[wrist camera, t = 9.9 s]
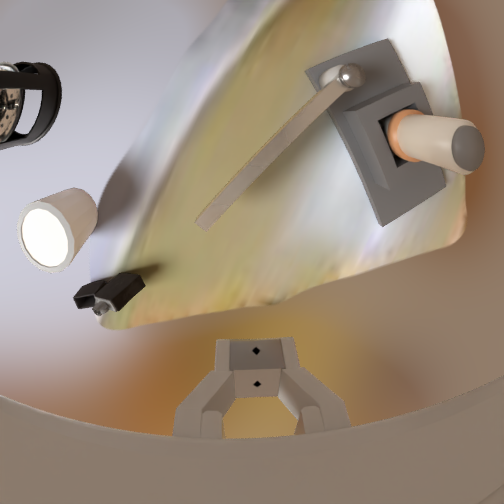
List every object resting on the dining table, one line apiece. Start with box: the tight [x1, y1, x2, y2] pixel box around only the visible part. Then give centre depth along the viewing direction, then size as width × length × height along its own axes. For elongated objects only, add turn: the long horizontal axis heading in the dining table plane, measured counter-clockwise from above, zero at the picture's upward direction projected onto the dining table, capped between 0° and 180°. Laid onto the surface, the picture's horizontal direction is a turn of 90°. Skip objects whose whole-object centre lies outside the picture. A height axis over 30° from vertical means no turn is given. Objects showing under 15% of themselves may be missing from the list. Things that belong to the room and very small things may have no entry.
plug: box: [378, 109, 485, 175], centre depth 19 cm, size 5×5×12 cm
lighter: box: [73, 273, 146, 316], centre depth 29 cm, size 9×2×6 cm
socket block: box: [305, 39, 446, 227], centre depth 24 cm, size 18×10×4 cm, turn 31°
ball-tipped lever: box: [195, 63, 366, 232], centre depth 21 cm, size 18×2×2 cm, turn 137°
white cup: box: [17, 188, 98, 273], centre depth 23 cm, size 7×7×7 cm
